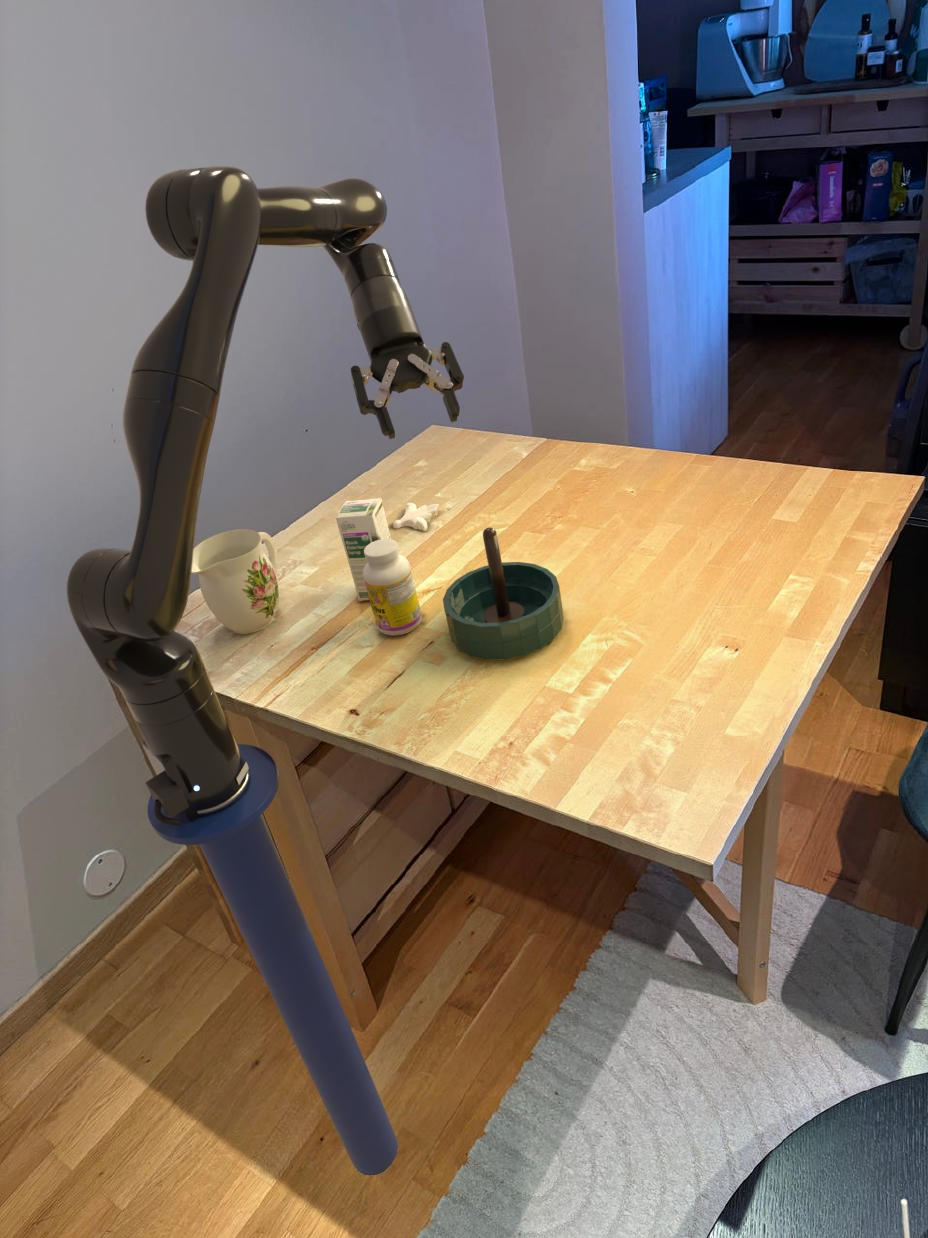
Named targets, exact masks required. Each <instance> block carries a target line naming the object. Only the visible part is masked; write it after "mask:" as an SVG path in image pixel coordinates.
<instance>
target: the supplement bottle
mask: <svg viewBox="0 0 928 1238" xmlns="http://www.w3.org/2000/svg"><path fill="white" fill-rule="evenodd" d="M364 554H365V559H366V560H367V562H368V563H367V564H366V565H365V567H364V569H363V577H364V581H365V584H366V588H367V592H368V596H369V599H370V600H369V603H370V607H371V610H372V614H373V617H374V621H375V624H376V627H377V629H378V631H379V632H381V633H382V634H385V635H386V636H402V635H405V634H408V633H410V632H412V631H413V630H415V629H416V628H418V626H420V624H421V622H422V619H423V615H422V610H421V606H420V602H419V598H418V594H417V590H416V585H415V582H414V577H413V573H412V569H411V565H410V564H411V563H410V562H409V560H408V559H407V558H406V557H405V556H404V555H402V554H400V549H399V545H398V542H397V541H396V540H394V539H392V538H391V539H381V540H377V541H374V542H372V543H370V544H369V545H367V546H366V547H365V549H364Z"/></svg>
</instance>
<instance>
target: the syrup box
mask: <svg viewBox="0 0 928 1238" xmlns="http://www.w3.org/2000/svg"><path fill="white" fill-rule="evenodd" d="M335 520H336V524H337V528H338V531H339V536H340V539H341V542H342V545H343V549H344V552H345V556H346V559H347V562H348V565H349V569H350V573H351V577H352V580H353V584H354V587H355V588H354V589H355V592H356V596H357V600H358V601H359V602H364V601H370V599H369V596H368V592H367V588H366V584H365V581H364V577H363V569H364V567H365V565H366V564H367V563H368V562H367V560H366V559H365V554H364V549H365V547H366V546H367V545H369V544H370V543H372V542H374V541H377V540H381V539H392V536H391V534H390V528H389V524H388V521H387V517H386V512H385V509H384V504H383V501H382V497H377V498H370V499H369V498H368V499H359V500H346V501H345V502H344V503H343V504H342V506H341V507H340V509H339V511H338V512H337V515H336V518H335Z"/></svg>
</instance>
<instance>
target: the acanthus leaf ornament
mask: <svg viewBox="0 0 928 1238" xmlns="http://www.w3.org/2000/svg"><path fill="white" fill-rule="evenodd" d="M439 509H440V504H439V503H431V504H429V505H426V504H423V505H421V506H419V507H418V508H417V505H416V504H415V503H413V502H407V503H406V505H405V508H404V511H405V512H404V514H403V515H402V517H401V518H400V519H396V520H394V521H393V523H392V528H393V529H400V528H403V527H410V528H413V529H414V530H420V531H422V532H427V530H428V523H431V520H432V519H433V518H435V517H438V513H439Z"/></svg>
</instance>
